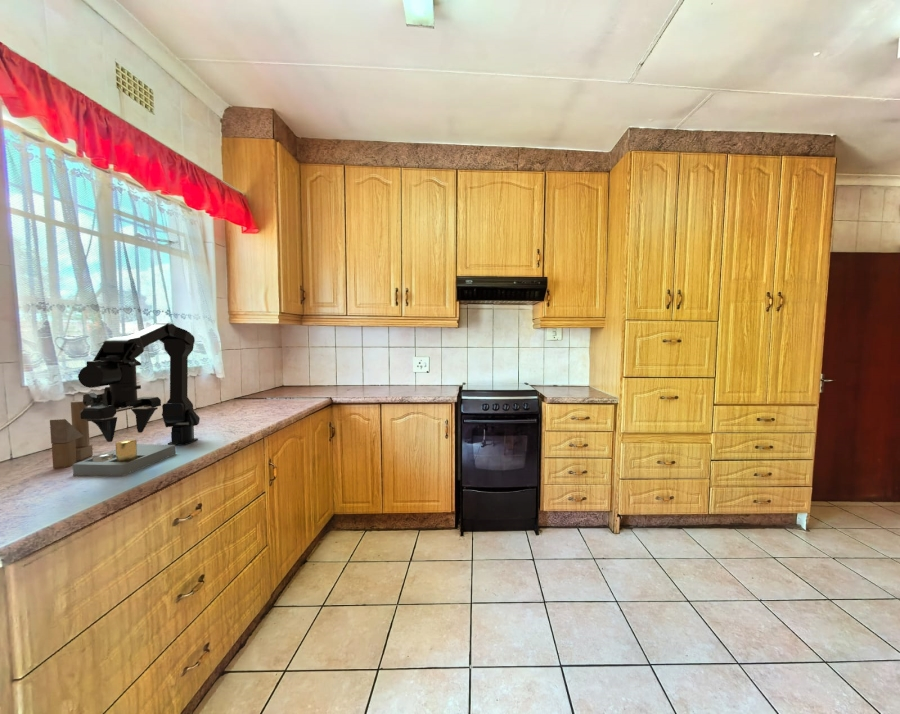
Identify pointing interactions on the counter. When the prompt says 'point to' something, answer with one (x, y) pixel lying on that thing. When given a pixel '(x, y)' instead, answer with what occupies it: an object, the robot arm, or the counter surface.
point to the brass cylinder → (126, 450)
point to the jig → (113, 468)
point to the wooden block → (70, 438)
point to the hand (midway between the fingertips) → (125, 436)
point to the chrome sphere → (103, 457)
